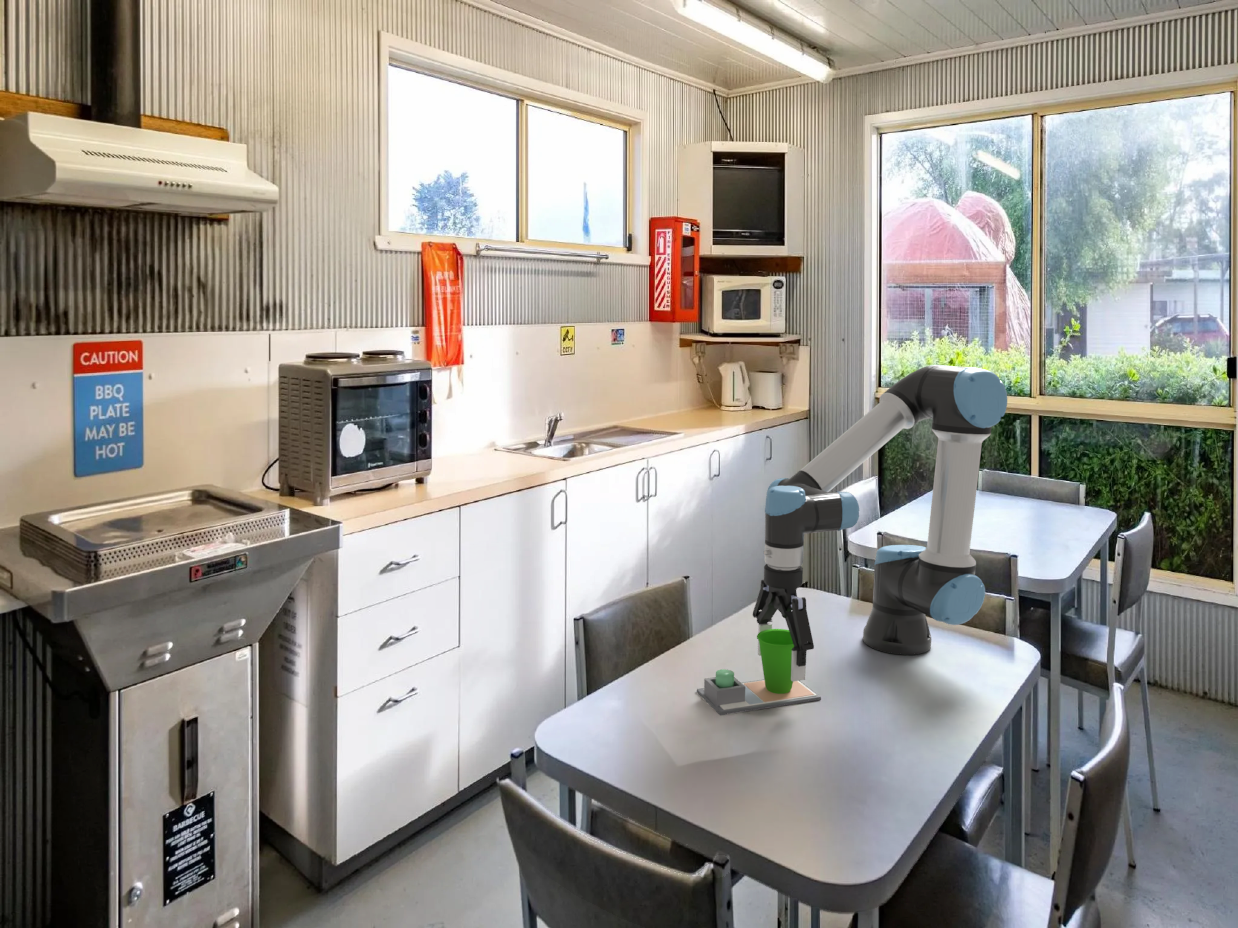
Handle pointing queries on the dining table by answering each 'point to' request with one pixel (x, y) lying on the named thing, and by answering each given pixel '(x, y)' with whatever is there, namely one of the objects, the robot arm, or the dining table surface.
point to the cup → (776, 659)
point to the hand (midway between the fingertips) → (780, 666)
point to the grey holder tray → (751, 696)
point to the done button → (724, 678)
